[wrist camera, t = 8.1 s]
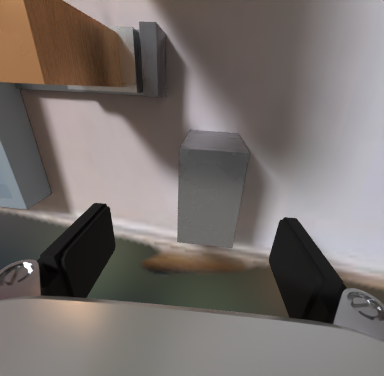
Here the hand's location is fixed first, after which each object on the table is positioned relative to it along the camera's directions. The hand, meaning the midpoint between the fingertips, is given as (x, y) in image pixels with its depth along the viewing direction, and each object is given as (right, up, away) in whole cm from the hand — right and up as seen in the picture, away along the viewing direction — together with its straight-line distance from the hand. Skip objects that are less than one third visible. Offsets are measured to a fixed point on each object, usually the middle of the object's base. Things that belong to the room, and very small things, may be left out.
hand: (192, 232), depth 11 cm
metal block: (+2, +4, +7) cm, 9 cm away
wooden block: (-6, +11, +3) cm, 13 cm away
